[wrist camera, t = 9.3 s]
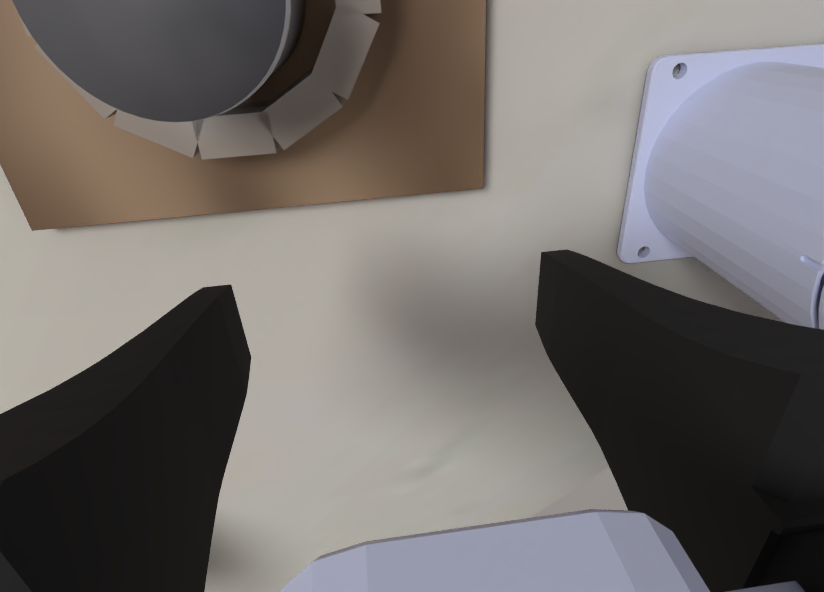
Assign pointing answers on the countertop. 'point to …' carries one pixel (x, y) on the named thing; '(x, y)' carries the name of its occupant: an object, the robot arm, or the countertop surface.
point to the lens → (166, 50)
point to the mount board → (260, 123)
